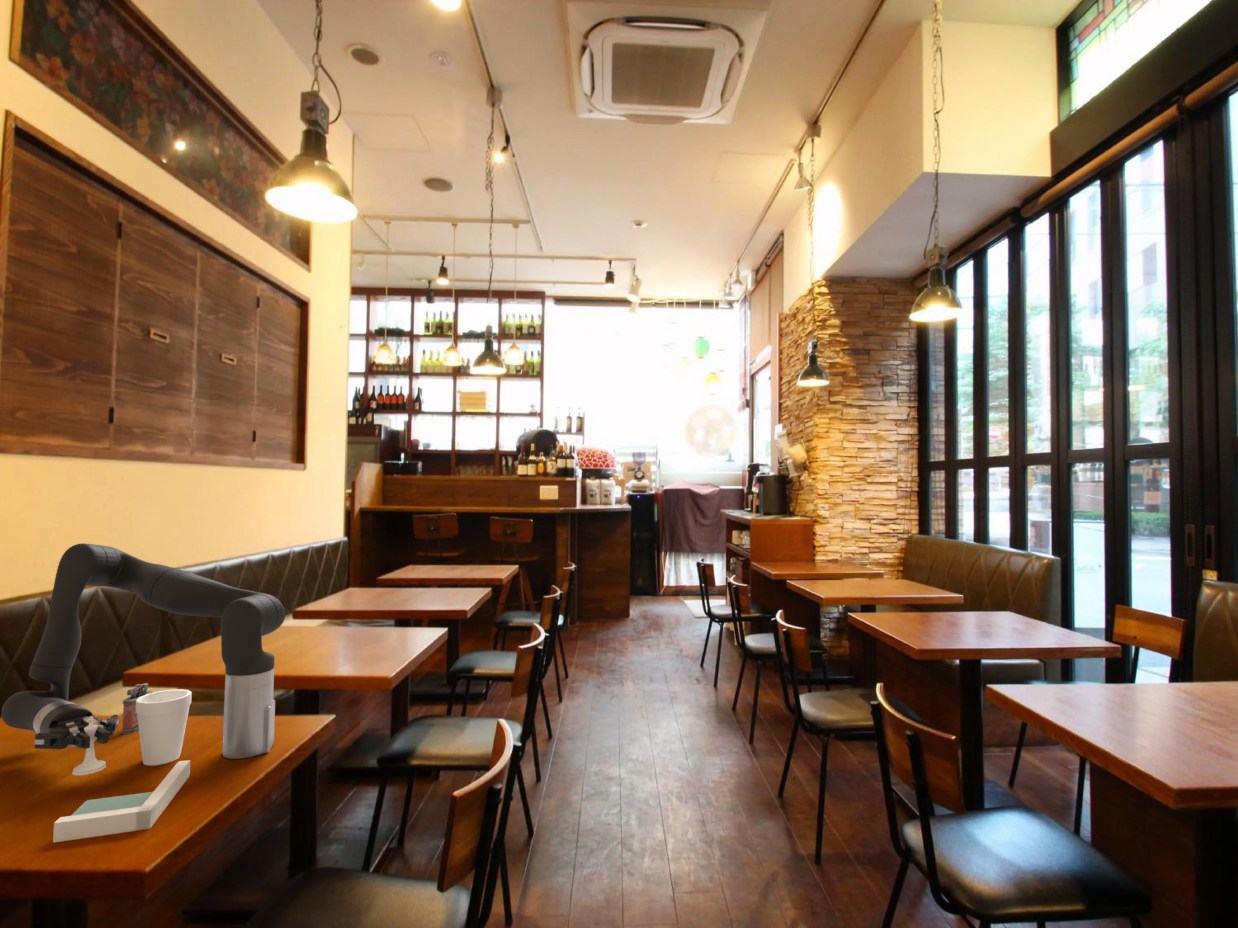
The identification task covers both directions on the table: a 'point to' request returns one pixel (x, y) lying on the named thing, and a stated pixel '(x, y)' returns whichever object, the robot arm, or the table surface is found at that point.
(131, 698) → the lighter
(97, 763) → the chess piece
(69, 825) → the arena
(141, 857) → the table surface
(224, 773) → the table surface
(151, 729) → the foam cup
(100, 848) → the table surface
